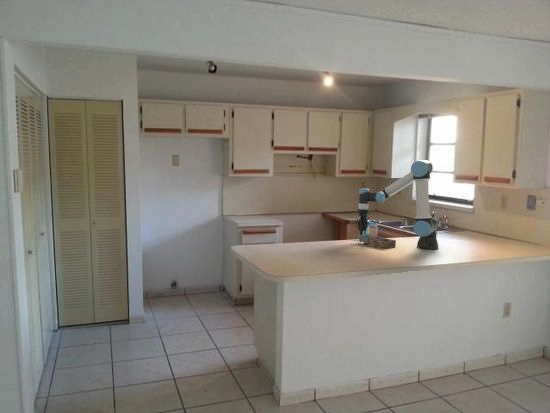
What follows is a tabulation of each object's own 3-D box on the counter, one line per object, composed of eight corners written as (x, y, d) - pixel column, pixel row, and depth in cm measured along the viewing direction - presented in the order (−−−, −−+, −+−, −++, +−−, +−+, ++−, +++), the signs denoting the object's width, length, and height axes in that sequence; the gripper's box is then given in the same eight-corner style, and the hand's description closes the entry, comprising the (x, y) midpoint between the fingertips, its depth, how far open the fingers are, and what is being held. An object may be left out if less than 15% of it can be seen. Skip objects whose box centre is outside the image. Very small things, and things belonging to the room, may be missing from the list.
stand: (395, 246, 341) (395, 240, 341) (385, 249, 332) (385, 242, 331) (377, 243, 352) (378, 237, 352) (367, 245, 343) (367, 239, 342)
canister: (378, 241, 347) (378, 225, 346) (373, 242, 343) (374, 226, 342) (371, 240, 351) (372, 224, 350) (367, 241, 347) (368, 225, 346)
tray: (385, 242, 347) (386, 236, 346) (375, 244, 338) (376, 238, 337) (368, 239, 358) (368, 233, 357) (358, 241, 349) (358, 235, 348)
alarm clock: (364, 239, 370) (365, 220, 369) (360, 237, 376) (361, 219, 374) (378, 238, 375) (379, 220, 374) (374, 237, 381) (374, 219, 379)
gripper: (364, 207, 359) (363, 237, 361) (354, 208, 350) (353, 239, 353) (372, 208, 353) (371, 238, 356) (362, 209, 345) (361, 240, 347)
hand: (362, 239), depth 354 cm, fingers closed
